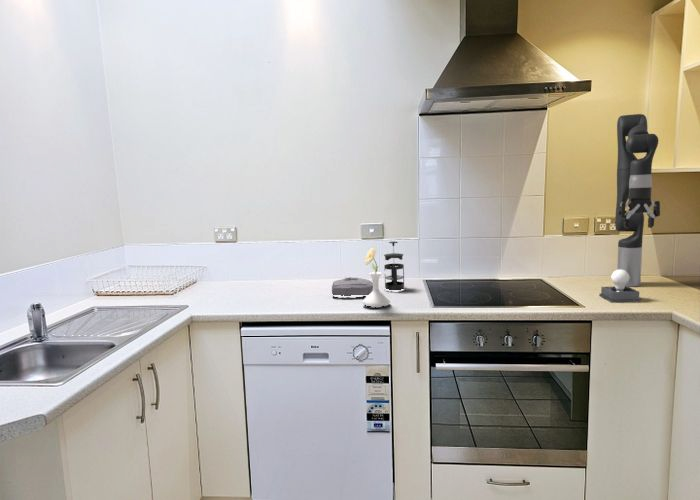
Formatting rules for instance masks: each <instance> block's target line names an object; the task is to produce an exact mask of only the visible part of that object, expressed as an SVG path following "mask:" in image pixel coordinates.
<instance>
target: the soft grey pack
mask: <svg viewBox="0 0 700 500" xmlns="http://www.w3.org/2000/svg"><path fill="white" fill-rule="evenodd" d="M372 291H373V281H371V280H369V279H366V278H362V277H345V278H341V279H337V280H334V281H333V282H332V285H331V295H332V294H333V295H341V296H343V295H344V296H351V295H369V294H370V293H371V292H372ZM333 295H332V296H333Z"/></svg>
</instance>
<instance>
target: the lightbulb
mask: <svg viewBox="0 0 700 500" xmlns="http://www.w3.org/2000/svg"><path fill="white" fill-rule="evenodd" d="M610 279H611V281H612V283H613V284H614V287H615V288H616V292H623V291H624V288H625V285H626V284H627V283H628V281H629V274H628V272H626V271H625V270H622V269H618V270H617V269H615V270H614V271H612V273H611V276H610Z"/></svg>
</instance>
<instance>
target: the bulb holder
mask: <svg viewBox="0 0 700 500" xmlns="http://www.w3.org/2000/svg"><path fill="white" fill-rule="evenodd" d="M600 287H601V292H600V293H599V295H598V296H599V297H601V298H602V299H604V300H605V301H607V302H609V303H611V304H612V303H613V304H614V303H615V304H616V303H642V299H641V298H640V291H639V290H636V289H634V288H632V287H631V286H625V288H624V291H623V292H616V288H615V286H600Z"/></svg>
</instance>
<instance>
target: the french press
mask: <svg viewBox="0 0 700 500" xmlns="http://www.w3.org/2000/svg"><path fill="white" fill-rule="evenodd" d="M388 243H389V244H392V251H393V252H392V253H387V254H386V253H385V254H384V255H383V256H384V260H385V261H389V260H391V259H393V263H387V264H384V267H383V268H384V270H390V273H391V275H385V277H384V289H385V288H386V289H389V290H401V289H405V268H404V265H405V264H402V263H395V259H398V260H401V261H402V260H403V256H404V254H403V253H397V252H396V253H395V244H398V241H389V242H388ZM401 269H402V275H398V270H401ZM386 280H389V281H387V282H386ZM390 280H391V281H390ZM398 280H403V281H398Z"/></svg>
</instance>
